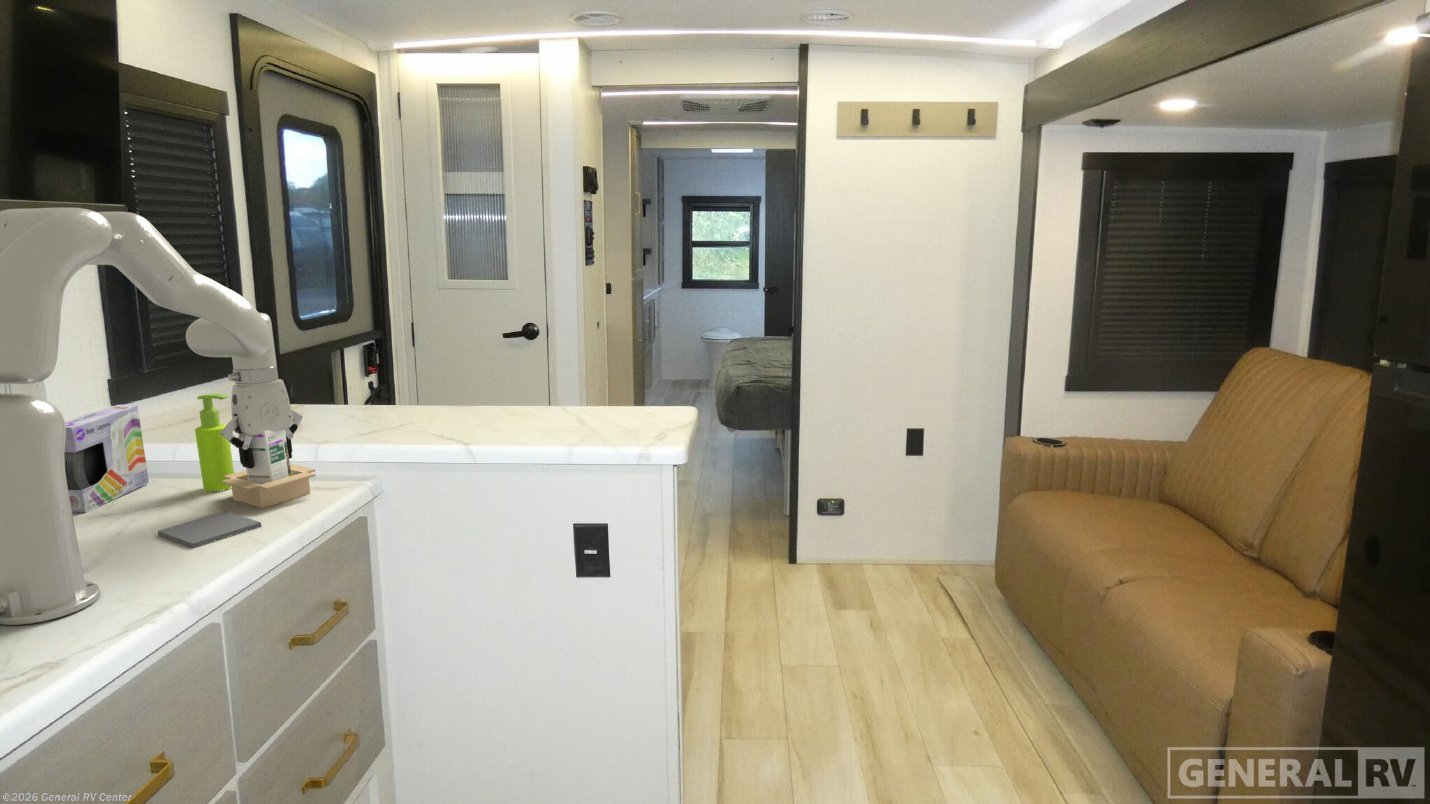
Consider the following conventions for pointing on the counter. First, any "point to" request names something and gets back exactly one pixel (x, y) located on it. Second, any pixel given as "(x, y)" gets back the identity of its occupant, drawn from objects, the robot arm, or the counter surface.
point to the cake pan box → (104, 457)
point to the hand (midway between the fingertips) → (267, 461)
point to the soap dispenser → (213, 446)
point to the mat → (208, 529)
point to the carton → (270, 487)
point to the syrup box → (269, 457)
